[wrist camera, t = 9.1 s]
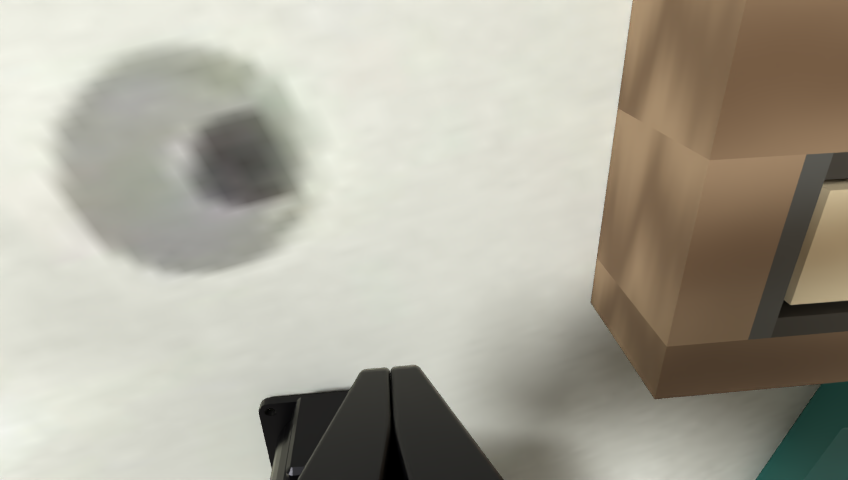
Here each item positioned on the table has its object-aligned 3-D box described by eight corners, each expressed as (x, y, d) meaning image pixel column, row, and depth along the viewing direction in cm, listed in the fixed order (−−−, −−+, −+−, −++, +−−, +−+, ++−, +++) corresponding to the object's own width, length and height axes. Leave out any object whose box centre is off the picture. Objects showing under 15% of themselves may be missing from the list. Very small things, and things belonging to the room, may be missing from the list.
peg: (784, 222, 23) (905, 295, 17) (694, 228, 22) (790, 305, 17) (814, 129, 21) (957, 182, 16) (716, 135, 20) (830, 190, 15)
